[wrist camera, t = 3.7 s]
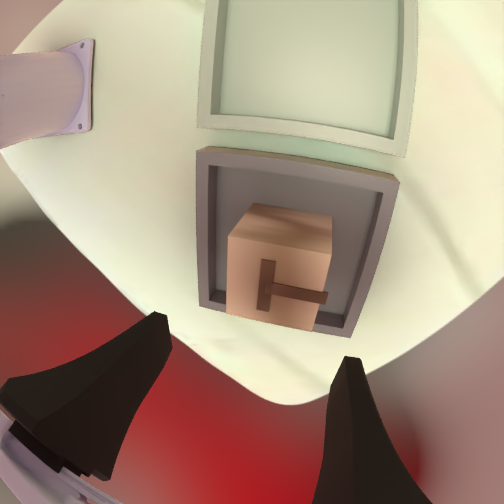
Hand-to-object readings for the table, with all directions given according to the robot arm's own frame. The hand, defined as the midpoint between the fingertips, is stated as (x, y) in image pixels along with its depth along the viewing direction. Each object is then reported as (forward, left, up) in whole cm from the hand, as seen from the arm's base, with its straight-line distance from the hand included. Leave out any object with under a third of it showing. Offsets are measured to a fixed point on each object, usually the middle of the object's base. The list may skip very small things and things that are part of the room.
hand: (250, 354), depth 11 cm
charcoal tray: (0, 0, -10) cm, 10 cm away
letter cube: (0, 0, -10) cm, 10 cm away
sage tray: (0, +13, -10) cm, 16 cm away
